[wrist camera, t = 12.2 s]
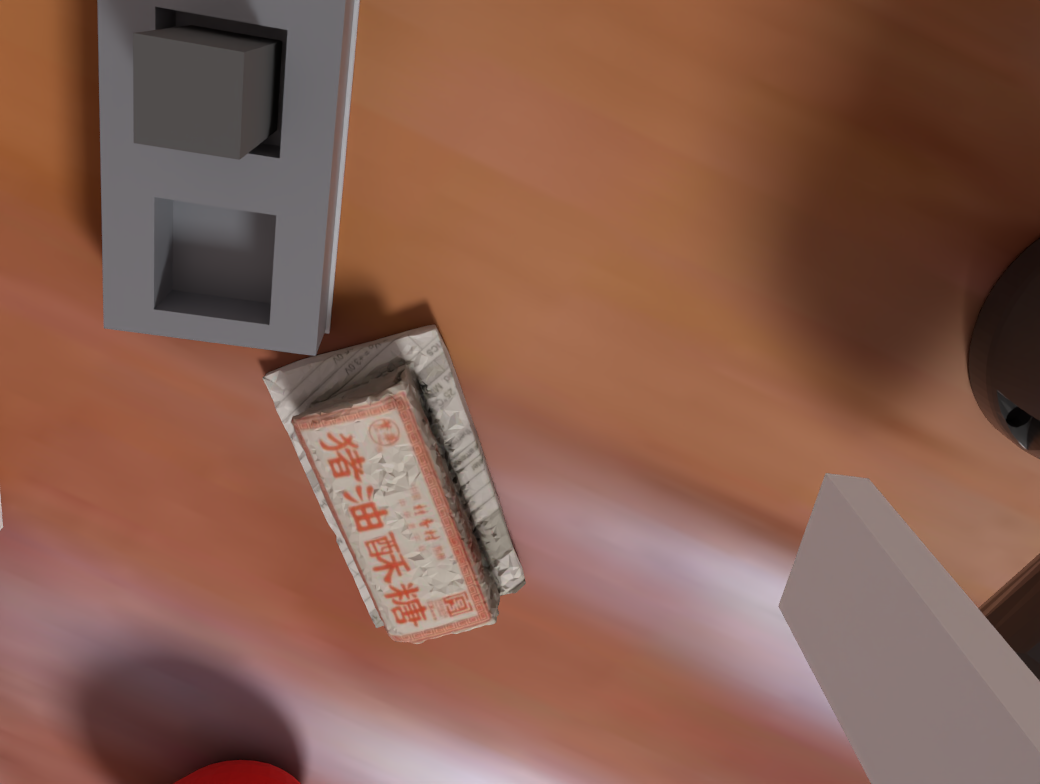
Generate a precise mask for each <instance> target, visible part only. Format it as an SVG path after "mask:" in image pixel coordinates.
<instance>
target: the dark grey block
mask: <svg viewBox="0 0 1040 784" xmlns="http://www.w3.org/2000/svg"><path fill="white" fill-rule="evenodd" d="M281 54H282V41H280V40H274V39H269V38H263V37H257V36H251V35H246V34H240V33H234V32H229V31H223V30H217V29H212V28H206V27H200V26H195V25H188V26H181V27H174V28H166V29H159V30H151V31H144V32H137V33H133V133H134V143H136V144H142V145H149V146H155V147H161V148H168V149H174V150H180V151H187V152H193V153H199V154H206V155H212V156H219V157H225V158H231V159H238V160H240V159H241V158H243V157H244V156H245V155H246V154H248V153H249V152H250V151H251V150H253V149H254V148H255V147H256V146H258V145H259V144H260V143H262V142H263V141H264V140H265V139H267V138H268V137H269V136H270V135H272V134H273V133H274V132H275V131H277V122H278V105H279V88H280V71H281Z"/></svg>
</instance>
